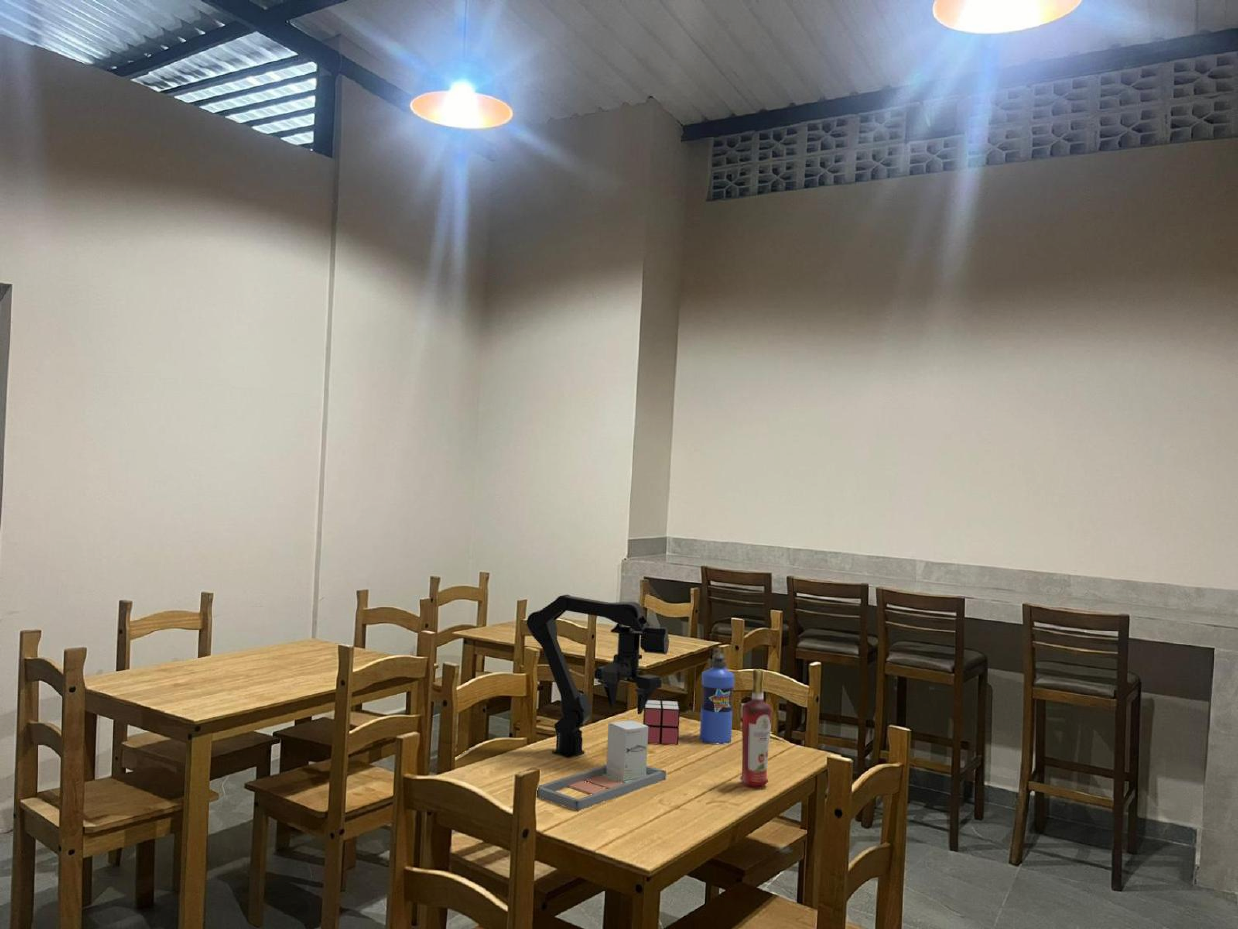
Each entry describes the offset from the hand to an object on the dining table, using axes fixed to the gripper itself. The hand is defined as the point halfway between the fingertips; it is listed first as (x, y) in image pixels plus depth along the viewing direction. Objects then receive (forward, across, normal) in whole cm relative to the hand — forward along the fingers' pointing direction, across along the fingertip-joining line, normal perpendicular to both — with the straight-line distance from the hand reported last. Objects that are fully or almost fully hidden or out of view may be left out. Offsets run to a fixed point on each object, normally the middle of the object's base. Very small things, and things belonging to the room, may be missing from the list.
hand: (625, 710), depth 235 cm
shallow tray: (+13, +10, -20) cm, 26 cm away
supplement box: (+13, +9, -10) cm, 19 cm away
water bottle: (+13, +5, +36) cm, 39 cm away
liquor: (+13, +34, +9) cm, 38 cm away
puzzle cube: (+13, -6, +24) cm, 28 cm away
